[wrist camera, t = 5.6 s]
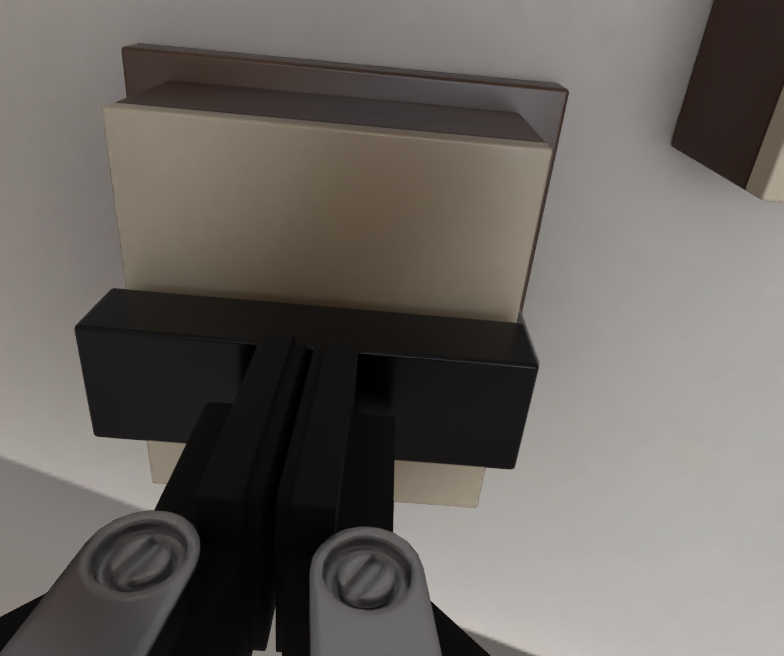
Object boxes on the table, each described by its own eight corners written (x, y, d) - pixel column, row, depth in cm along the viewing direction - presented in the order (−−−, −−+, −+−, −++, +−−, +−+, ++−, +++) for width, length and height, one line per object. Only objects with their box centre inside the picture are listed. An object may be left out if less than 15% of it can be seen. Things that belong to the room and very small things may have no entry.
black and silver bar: (166, 302, 16) (65, 435, 12) (158, 215, 15) (41, 323, 10) (501, 330, 17) (541, 473, 12) (517, 247, 16) (569, 368, 11)
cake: (172, 394, 19) (113, 499, 15) (136, 42, 14) (36, 63, 10) (491, 419, 20) (513, 529, 16) (560, 83, 15) (617, 118, 11)
